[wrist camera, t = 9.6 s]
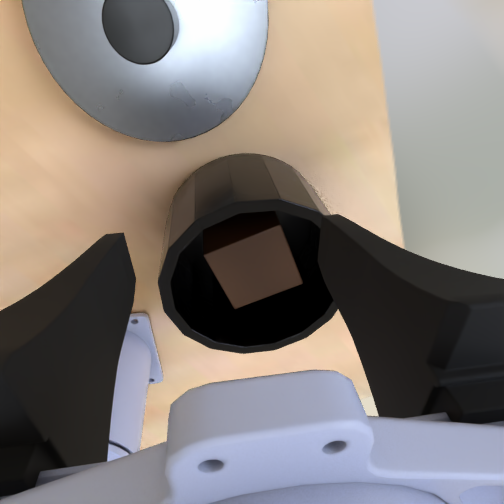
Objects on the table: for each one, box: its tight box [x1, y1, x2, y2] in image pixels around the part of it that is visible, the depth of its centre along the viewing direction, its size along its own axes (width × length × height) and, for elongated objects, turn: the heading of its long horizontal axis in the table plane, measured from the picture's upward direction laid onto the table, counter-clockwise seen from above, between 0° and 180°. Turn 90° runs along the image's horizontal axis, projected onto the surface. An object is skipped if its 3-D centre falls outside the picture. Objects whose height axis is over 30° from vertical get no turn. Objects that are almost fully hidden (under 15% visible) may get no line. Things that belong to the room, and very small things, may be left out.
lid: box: [22, 0, 269, 142], centre depth 14 cm, size 11×11×6 cm
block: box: [203, 211, 303, 309], centre depth 21 cm, size 4×4×4 cm
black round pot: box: [158, 154, 338, 354], centre depth 21 cm, size 10×10×6 cm
